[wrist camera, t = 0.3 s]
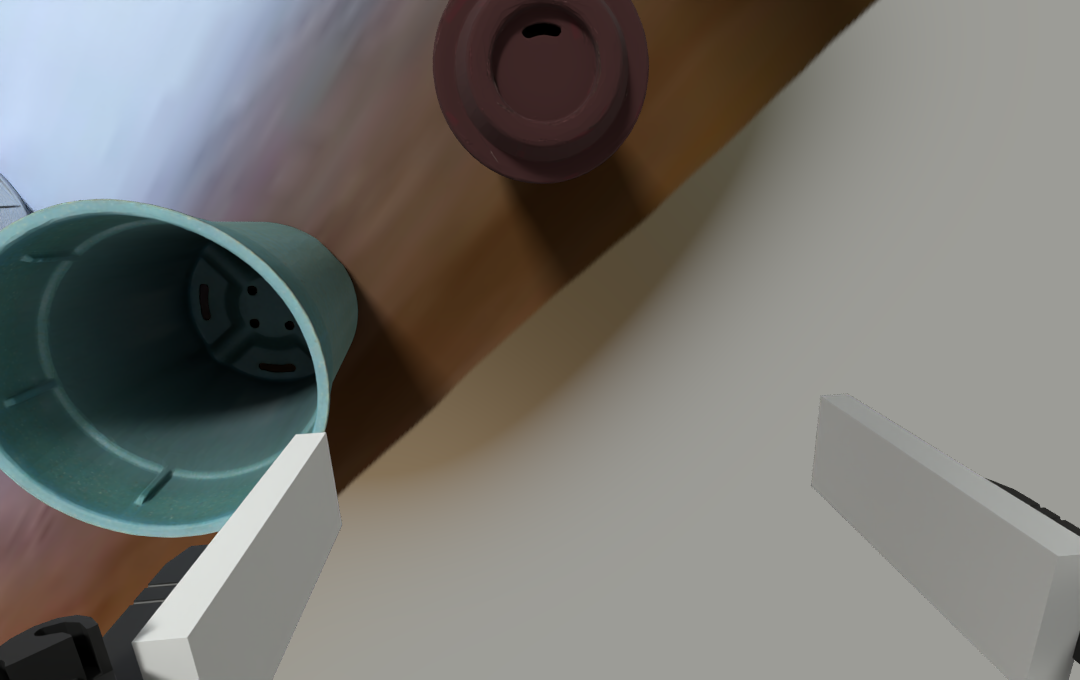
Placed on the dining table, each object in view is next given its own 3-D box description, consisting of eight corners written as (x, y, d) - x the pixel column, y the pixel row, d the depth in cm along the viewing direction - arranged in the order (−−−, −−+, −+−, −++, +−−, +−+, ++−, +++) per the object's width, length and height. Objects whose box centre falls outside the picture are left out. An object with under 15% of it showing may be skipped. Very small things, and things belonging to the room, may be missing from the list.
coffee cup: (553, 208, 40) (585, 224, 26) (429, 135, 38) (388, 109, 24) (625, 78, 38) (703, 17, 24) (498, -5, 36) (498, -127, 22)
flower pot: (434, 283, 41) (395, 346, 26) (317, 448, 44) (218, 593, 28) (230, 140, 37) (41, 113, 22) (117, 330, 40) (-121, 424, 25)
